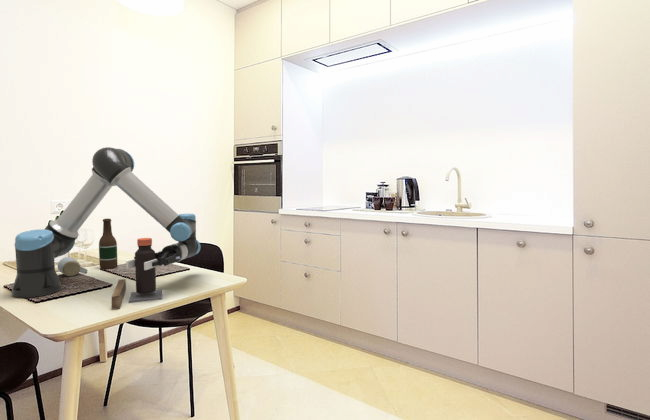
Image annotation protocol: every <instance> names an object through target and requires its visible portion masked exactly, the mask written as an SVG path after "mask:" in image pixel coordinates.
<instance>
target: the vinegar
mask: <svg viewBox="0 0 650 420" xmlns="http://www.w3.org/2000/svg"><path fill="white" fill-rule="evenodd" d="M136 243H137V245H136V246H137V247H138V249H136V251H135V252H134V257H135V267H134V268H135V292H137V293H139V294H147V293H152V292H154V291H155V290H157V281H156V279H157V277H156V276H157V275H156V267H154V268H151V269H148V270H144V263H145V262H148V261H151V260H154V259H155V253H156V251H155V250H154V249H153V247H152V246H153V239H152V237H141V238H137V242H136Z"/></svg>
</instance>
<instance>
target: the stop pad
mask: <svg viewBox="0 0 650 420" xmlns="http://www.w3.org/2000/svg"><path fill="white" fill-rule="evenodd" d="M149 300H150V301H156V300H157V301H158V300H163V289H156V290H155V291H154V292H152V293H147V294H139V293H137V292H136V291H131V292H130V295H129V300H128V303H129V304H130V303H139V302H140V301H141V302H148V301H149Z"/></svg>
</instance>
